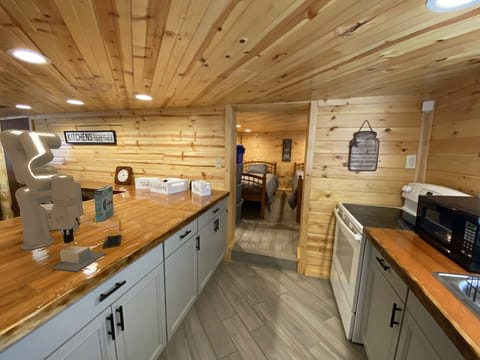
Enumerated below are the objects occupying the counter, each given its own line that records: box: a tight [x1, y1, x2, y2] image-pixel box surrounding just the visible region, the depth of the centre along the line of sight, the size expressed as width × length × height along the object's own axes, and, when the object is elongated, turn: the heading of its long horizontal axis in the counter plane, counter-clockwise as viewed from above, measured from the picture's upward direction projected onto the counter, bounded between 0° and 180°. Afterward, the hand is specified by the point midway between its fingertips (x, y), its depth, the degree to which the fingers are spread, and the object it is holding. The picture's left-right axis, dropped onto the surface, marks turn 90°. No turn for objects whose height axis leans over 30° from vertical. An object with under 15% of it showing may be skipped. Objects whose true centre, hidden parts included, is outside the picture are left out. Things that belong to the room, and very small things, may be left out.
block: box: [59, 245, 91, 263], centre depth 89 cm, size 5×5×10 cm
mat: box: [51, 250, 107, 273], centre depth 89 cm, size 12×15×1 cm
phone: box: [102, 234, 123, 250], centre depth 109 cm, size 8×1×15 cm
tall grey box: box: [74, 182, 84, 216], centre depth 151 cm, size 12×12×25 cm
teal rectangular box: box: [93, 185, 115, 223], centre depth 147 cm, size 20×5×23 cm, turn 13°
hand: (69, 242), depth 88 cm, fingers closed
